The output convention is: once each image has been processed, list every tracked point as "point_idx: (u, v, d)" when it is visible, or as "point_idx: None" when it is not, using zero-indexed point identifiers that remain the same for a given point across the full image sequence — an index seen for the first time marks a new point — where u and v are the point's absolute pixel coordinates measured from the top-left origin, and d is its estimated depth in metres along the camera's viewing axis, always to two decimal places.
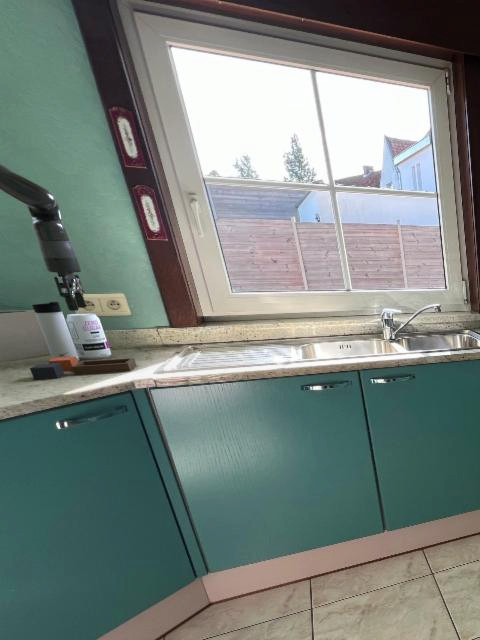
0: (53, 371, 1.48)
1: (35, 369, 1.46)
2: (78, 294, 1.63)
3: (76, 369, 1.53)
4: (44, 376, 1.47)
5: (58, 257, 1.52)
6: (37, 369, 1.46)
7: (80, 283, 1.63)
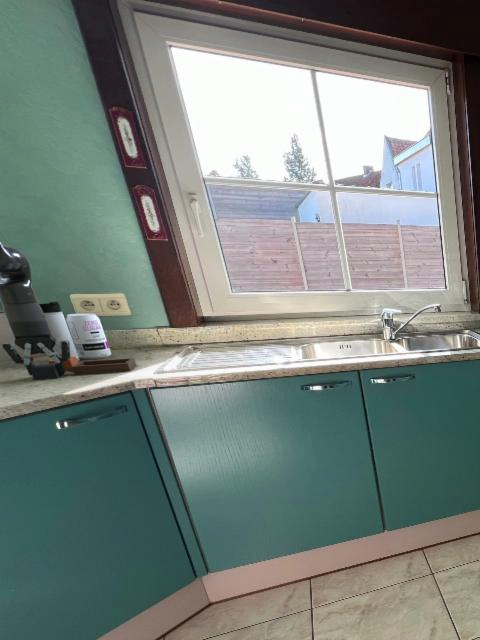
0: (53, 371, 1.48)
1: (35, 369, 1.46)
2: (31, 362, 1.47)
3: (76, 369, 1.53)
4: (44, 376, 1.47)
5: (45, 319, 1.46)
6: (37, 369, 1.46)
7: (15, 351, 1.45)
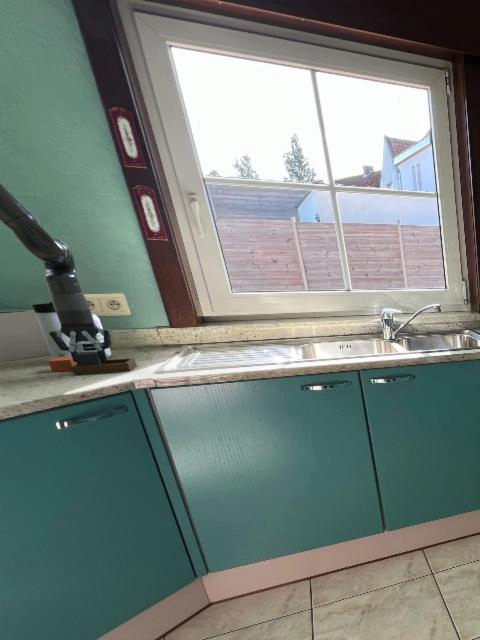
0: (95, 358, 1.55)
1: (79, 356, 1.53)
2: (75, 349, 1.55)
3: (76, 369, 1.53)
4: (88, 363, 1.55)
5: (89, 308, 1.53)
6: (81, 356, 1.54)
7: None
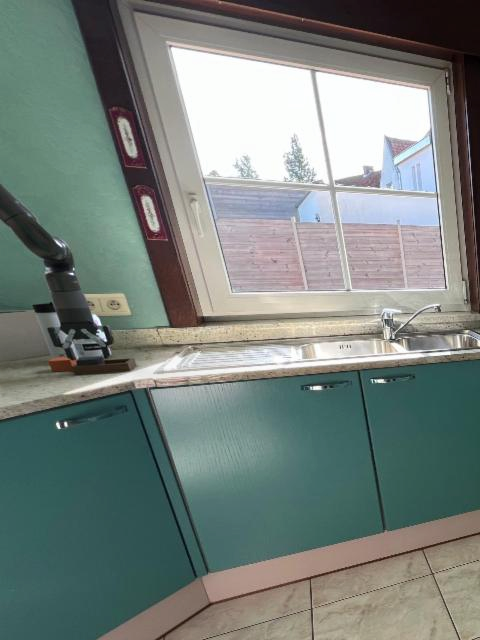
0: (97, 363, 1.56)
1: (80, 361, 1.54)
2: (69, 346, 1.54)
3: (76, 369, 1.53)
4: None
5: (88, 306, 1.53)
6: (82, 361, 1.54)
7: None
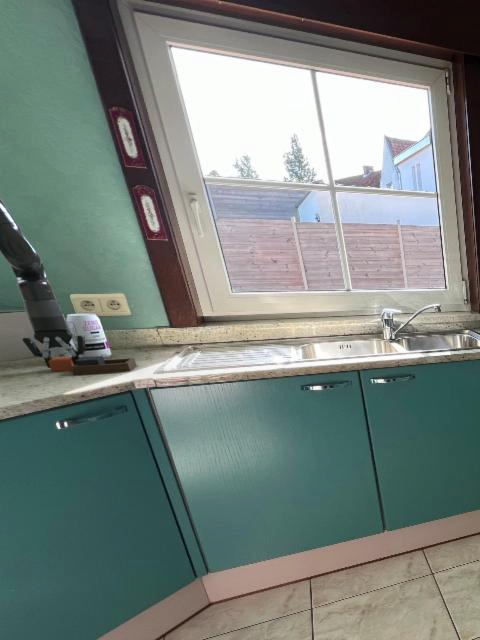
0: (97, 363, 1.56)
1: (80, 361, 1.54)
2: (49, 355, 1.56)
3: (76, 369, 1.53)
4: None
5: (62, 314, 1.55)
6: (82, 361, 1.54)
7: None
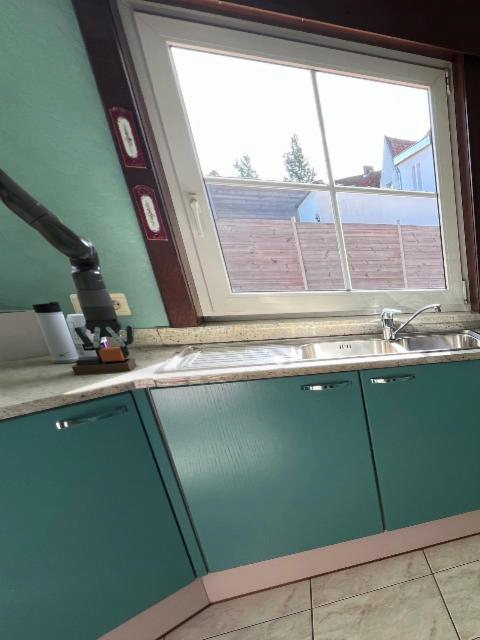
0: (97, 363, 1.56)
1: (80, 361, 1.54)
2: (99, 345, 1.57)
3: (76, 369, 1.53)
4: None
5: None
6: (82, 361, 1.54)
7: None
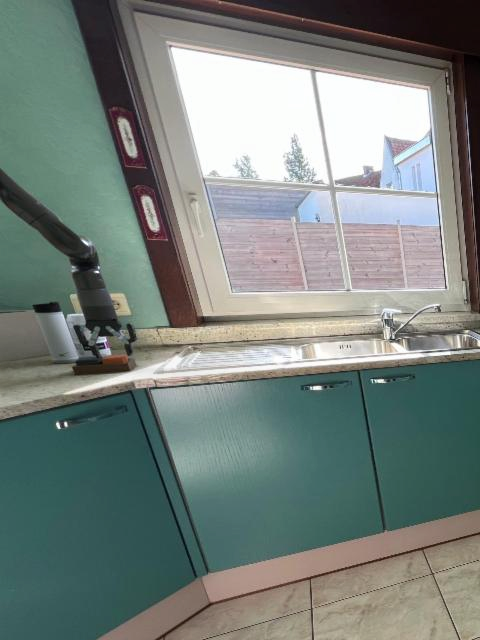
0: (96, 363, 1.56)
1: (80, 361, 1.54)
2: (94, 343, 1.56)
3: (76, 369, 1.53)
4: None
5: None
6: (82, 361, 1.54)
7: None
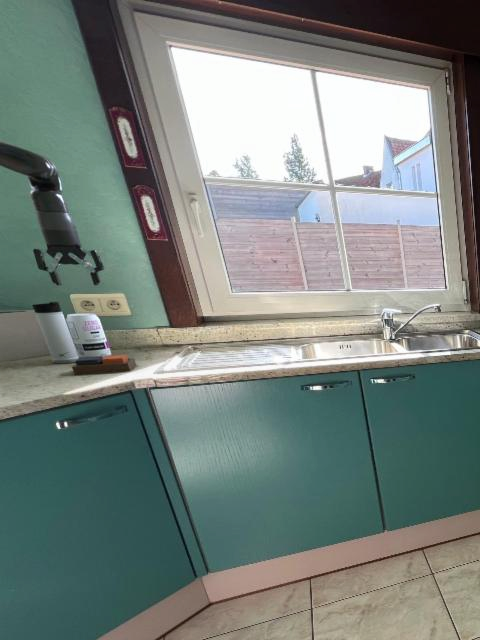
0: (96, 363, 1.56)
1: (80, 361, 1.54)
2: (54, 270, 1.50)
3: (76, 369, 1.53)
4: None
5: None
6: (82, 361, 1.54)
7: None
